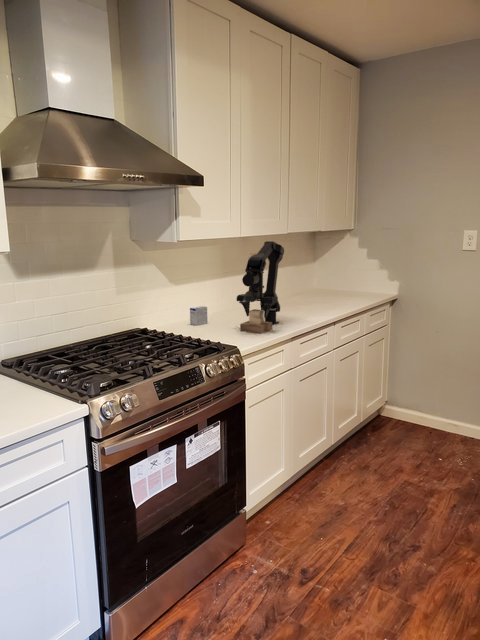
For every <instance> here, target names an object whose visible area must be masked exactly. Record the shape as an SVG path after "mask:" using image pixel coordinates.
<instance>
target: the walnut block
mask: <svg viewBox="0 0 480 640" xmlns="http://www.w3.org/2000/svg"><path fill="white" fill-rule="evenodd" d="M239 327H240V328H239V329H240V332H244V333H251V334H257V335H262V334H264V333H267V332H269V331H273V324H272V322H266V321H265V320H264V323H261V324H250V323H249V320H248V321H244V322H241V323H240V324H239Z"/></svg>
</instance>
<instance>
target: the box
mask: <svg viewBox="0 0 480 640" xmlns="http://www.w3.org/2000/svg"><path fill="white" fill-rule="evenodd" d="M189 323H190V325H191V326H196V327H197V326H201V325H205V324H208V323H209V321H208V307H207V306H205V305H204V306H203V305H202V306H201V305H200V306H196V307H194V306H193V307H190V308H189Z"/></svg>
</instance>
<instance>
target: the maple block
mask: <svg viewBox="0 0 480 640" xmlns="http://www.w3.org/2000/svg"><path fill="white" fill-rule="evenodd" d="M248 317H249V318H248V319H249V320H248V321H249V323H250V324H261V323H264V321H265V318H264V310H261V309H251V310H250V309H249V316H248Z"/></svg>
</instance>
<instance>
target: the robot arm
mask: <svg viewBox="0 0 480 640" xmlns="http://www.w3.org/2000/svg"><path fill="white" fill-rule="evenodd" d="M284 254H285V248H284V247H283V246H282V245H281V244H279V243H276V242H275V241H273V240H272V241H269V240H268V241H267V240H266V241H264V243H263V246H262V247H261V248H260V249H259V251H258V252H257V253H255V254H253V255H251V256H250V257H249V258H248V261H247V262H246V266H245V270H244V271H245V274H244V275H243V277H242V279H241V281H242V284H243V285H244V286H245V287H248V290H247V291H246V292H245V293H240V294H238V295H237V296H236V302H238V303H239V304H241V305H242V306H243V309H244V312H245V314H246V317H249V311H250V305H251V303H254V302H260V304H259V305H260V310H264V321H266V322H272V325H275V324H278V323H279V322H280V321H279V320H278V321H277V313H280V312H281V305H280V302H279V298H278V294H277V293H276V292H277V291H276V290H277V289H276V288H277V280H278V272H279V271H278V270H279V265H280V262H281V261H282V260H283V257H284ZM267 260H268V262H269V263H268V270H267V280H266V286H265V285H264V273H265V272H264V270H265V269H266V265H267V262H266V261H267ZM264 288H266V289H265V291H264ZM263 291H264V292H263Z"/></svg>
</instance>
